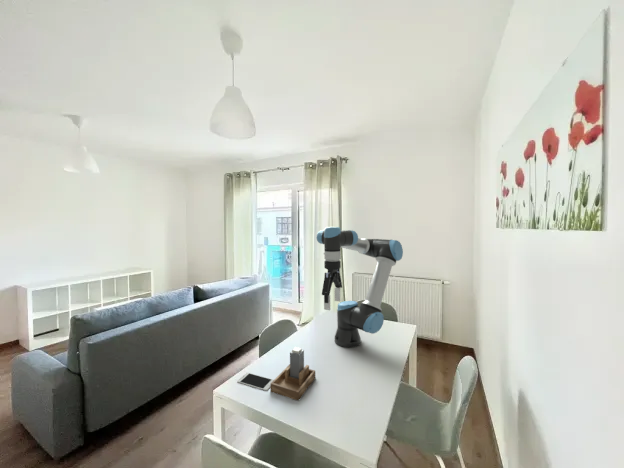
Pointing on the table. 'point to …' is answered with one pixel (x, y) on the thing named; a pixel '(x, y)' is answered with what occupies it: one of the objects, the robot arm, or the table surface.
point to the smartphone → (256, 381)
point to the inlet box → (293, 383)
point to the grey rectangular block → (296, 362)
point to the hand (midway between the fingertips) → (332, 305)
